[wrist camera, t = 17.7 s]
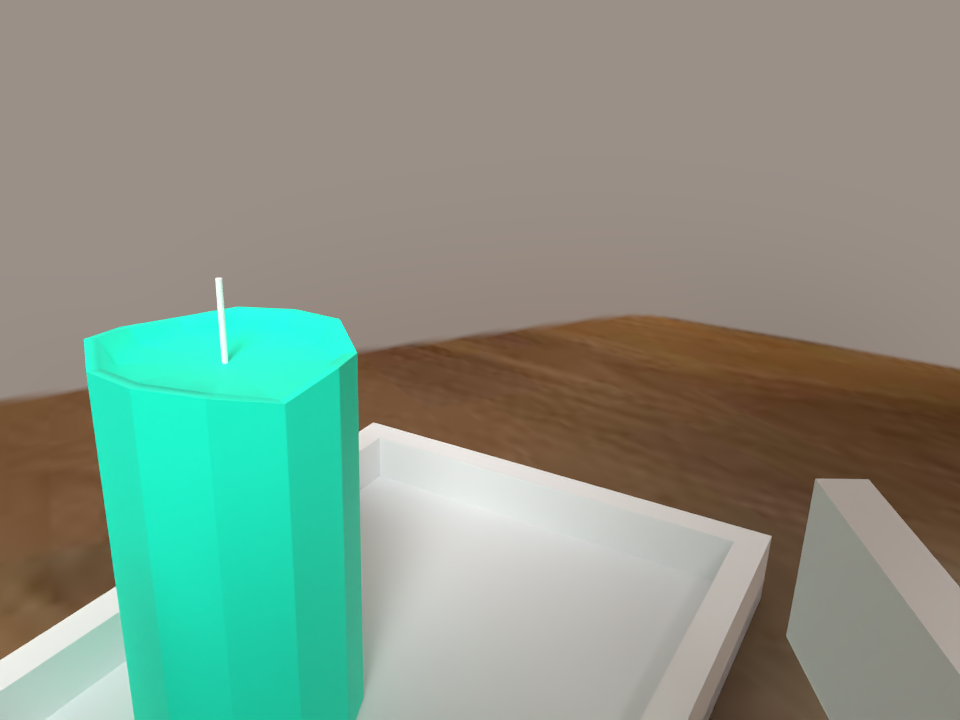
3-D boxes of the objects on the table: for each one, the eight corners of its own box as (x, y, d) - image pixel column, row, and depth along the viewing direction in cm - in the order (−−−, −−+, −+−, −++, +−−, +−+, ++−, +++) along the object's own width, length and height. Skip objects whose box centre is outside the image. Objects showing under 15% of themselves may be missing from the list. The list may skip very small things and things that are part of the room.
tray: (374, 476, 38) (373, 422, 37) (760, 598, 31) (771, 536, 30) (-111, 826, 22) (-134, 745, 21) (479, 1253, 15) (484, 1160, 14)
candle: (108, 807, 21) (32, 326, 17) (156, 640, 27) (108, 244, 22) (366, 785, 22) (357, 321, 18) (361, 627, 28) (354, 243, 23)
